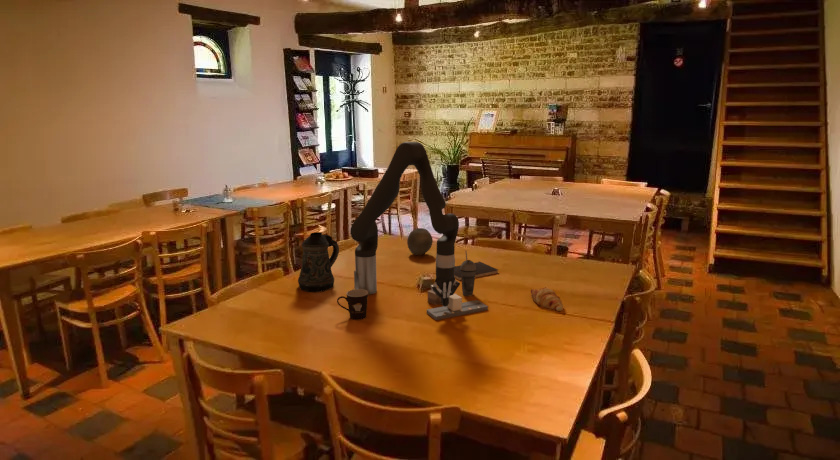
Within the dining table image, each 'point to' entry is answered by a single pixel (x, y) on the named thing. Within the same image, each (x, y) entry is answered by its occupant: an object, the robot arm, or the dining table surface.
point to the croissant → (547, 298)
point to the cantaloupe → (419, 241)
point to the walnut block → (433, 297)
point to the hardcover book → (477, 270)
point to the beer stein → (317, 263)
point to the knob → (455, 302)
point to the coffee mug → (356, 303)
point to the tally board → (466, 309)
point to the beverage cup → (468, 276)
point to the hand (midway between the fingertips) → (444, 305)
